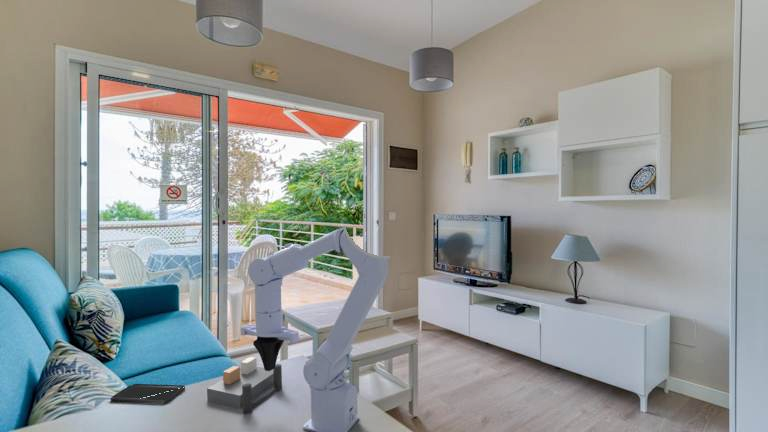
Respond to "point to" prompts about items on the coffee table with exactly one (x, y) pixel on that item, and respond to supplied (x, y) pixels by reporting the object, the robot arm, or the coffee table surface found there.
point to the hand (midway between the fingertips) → (269, 369)
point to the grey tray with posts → (233, 392)
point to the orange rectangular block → (231, 375)
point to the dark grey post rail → (277, 387)
